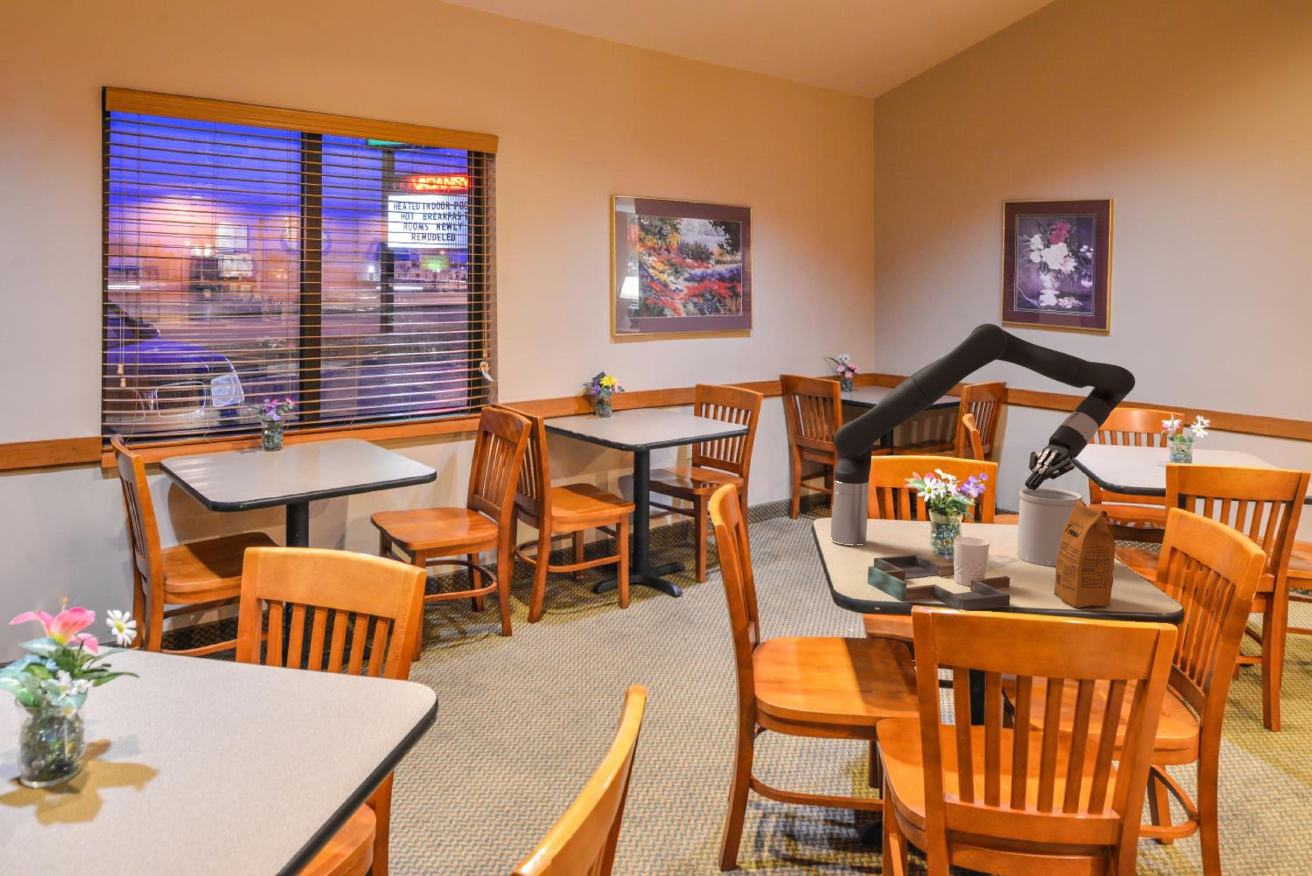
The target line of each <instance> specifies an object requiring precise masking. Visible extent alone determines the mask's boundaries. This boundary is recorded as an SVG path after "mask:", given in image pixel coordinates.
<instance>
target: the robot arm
mask: <svg viewBox="0 0 1312 876" xmlns="http://www.w3.org/2000/svg"><path fill="white" fill-rule="evenodd" d="M994 361H1002V362H1005V363H1010V364H1014V365H1018V366H1021V367H1022V368H1025V369H1028V370H1030V371H1033V372H1035V373H1037V374H1039V375H1041V376H1044V377H1046V378H1048V379H1051V380H1054V381H1056V382H1059V383H1062V384H1065V385H1068V386H1071V387H1074V388H1078V389H1083V388H1086V387H1092V389H1091V391H1090V392H1089V393H1088V395H1086V396H1087V397H1085V398H1084V399H1083V400H1081V402H1080V403H1079V404H1078V405H1077V407H1075V409H1074V410H1073V412H1071V413H1070V414H1069V415H1068V416H1067V417H1066V418H1065V419H1064V420H1063V422H1062V423H1061V424H1060V425H1059V426H1058V428H1056V430H1054V432H1053V433H1052V434H1051V435H1050V437H1049V439H1048V445H1046V446H1045V447H1044V448H1043V449H1042V450H1041V451H1040V452H1036V451H1032V452H1030V454H1029V455H1030V456H1029V465H1028V469H1029V470H1030V471H1031V472H1032V473H1031V474H1030V475H1029V476H1028V478H1027V479H1026V480H1025V482H1024V485H1025V488H1028V489H1031V490H1036V489H1037V488H1038V487H1041V485H1042V484H1043V483H1044V481H1047V480H1048V479H1050V480H1055V479H1057V478H1058V477H1061V476H1063V475H1065V474H1067V473H1068V472H1071V471H1072V470H1075V469H1076V466H1075V465H1074V463H1073V462H1072V460H1073V459H1076V458H1077V457H1078V456H1079V455H1080V454H1081V453H1082V452H1083V450H1084V449H1085V448H1086V447H1087V445H1088V444H1089V443H1090V442H1091V441H1092V440H1093V438H1094V436H1095V435H1096V433H1097V432H1098V431H1099V430H1100V428H1101V427H1102V426H1103V424H1105V422H1106V421H1107V420H1108V418H1109V417H1110V415H1111V413H1112V412H1113V411H1114V410H1115V408H1116V407H1118V405H1119V404H1120V403H1121V402H1122V401H1123V400H1124V399H1125V398H1126V396H1128V395H1129V394H1130V392H1132V390H1133V389H1134V388H1135V385H1136V379H1135V376H1134V374H1133V373H1132V372H1131V371H1129V370H1128V369H1126V368H1125V367H1122V366H1121V365H1117V364H1111V363H1105V362H1098V361H1097V362H1096V361H1090V360H1086V359H1082V358H1080V357H1078V356H1074V355H1072V354H1068V353H1065V352H1062V351H1059V350H1055V349H1052V348H1048V347H1046V346H1042V345H1038V344H1036V343H1032V342H1030V341H1027V340H1024V339H1022V338H1020V337H1017V336H1015V335H1014V334H1011V333H1010V332H1008V331H1006V330H1005V329H1003V328H1002V327H1000V326H999V325H996V324H993V323H982V324H980V325H978V326H977V327H975V328H974V329H973V330H972V331H971V332H970V333H969V335H968V336H967V337H966V338H965V339H964V340H963V341H961V343H959V344H958V345H957V346H956V347H955V348H953V350H952V351H950V352H949V353H947V354H946V355H944V356H943V357H941V358H939V359H937V360H935V361H933V362H931V363H930V364H929V363H928V365H925V366H923V367H922V368H920V369H919V370H918V371H916V372H914V373H913V374H911V375H909V376H908V377H907V378H906V379H904V380H903V381H901V382H900V383H899V384H897V386H895V387H894V388H893V389H892V390H891V391H890V392H888V394H886V395H885V396H884V397H883V398H881V400H879V402H878V403H877V404H876V405H875V406H874V407H872V408H871V409H869V410H868V411H867V412H865V413H864V414H861V415H860V416H858V417H857V418H855V419H854V420H850V421H848V422H845V423H844V424H843V425H841V426H840V427H839V428H838V429H837V430H836V433H835V435H834V438H833V446H834V448H835V451H836V452H837V454H836V455H837V457H836V464H835V468H834V469H835V470H834V482H833V483H834V485H833V486H834V487H833V504H832V506H831V526H830V529H831V530H830V538H831V537H832V539H831V541H832V540H833V541H836V542H839V543H843V544H853V545H857V544H864V543H865V542H866V543H867V534H868V533H867V530H868V512H869V511H868V510H869V493H870V492H869V491H870V490H869V489H870V488H869V487H870V475H871V467H872V453H873V444H875V443H876V442H877V441H878V440H879V439H881V438H882V437H883V436H884V435H886V434H887V433H888V432H890V431H892V430H894V429H895V428H897V427H898V426H900V425H902V424H903V423H904V424H905V423H906V422H907V421H909V420H911V419H913V418H914V417H916V416H918V415H919V414H921V413H922V412H924V411H925V410H926V409H928V408H929V407H930V406H932V405H934V403H936V402H938V401H939V400H940V399H942V398H943V397H944V396H945V395H946V394H948V393H949V392H950V391H951V390H952V389H953V388H954V387H956V386H957V385H958V384H959V383H960V382H961V381H963V380H964V379H965V378H966V377H968V376H970V375H971V374H973V373H974V372H976V371H978V370H979V369H981V368H983V367H985V366H986V365H988V364H990V363H992V362H994ZM864 545H865V544H864Z"/></svg>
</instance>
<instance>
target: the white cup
mask: <svg viewBox="0 0 1312 876" xmlns="http://www.w3.org/2000/svg"><path fill="white" fill-rule="evenodd" d="M989 549H990V541H988V540H986V539H983V538H979V537H972V536H959V537H955V538H954V539H953V564H954V577H953V581H954V582H955V583H956V584H958V583H959V584H958V585H962V586H966V587H971V580H978V579H986V578H985V577H986V573H987V565H988V558H989Z"/></svg>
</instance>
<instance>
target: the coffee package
mask: <svg viewBox="0 0 1312 876" xmlns="http://www.w3.org/2000/svg"><path fill="white" fill-rule="evenodd" d="M1108 516H1109V514H1108V512H1107V511H1105V509H1101V508H1093V507H1087V504H1086V503H1085V502H1084V501H1083V499H1082V500H1078V502H1077V503H1076V506H1075V508H1074V509H1073V511H1072V513H1071V516H1070V518H1069V520H1068V521H1067V523H1066V525H1065V528H1064V531H1063V533H1062V537H1061V540H1060V545H1059V550H1058V555H1057V559H1056V566H1055V580H1054V592H1053V594H1054V595H1055V596H1058V597H1059V599H1060V600H1061V602H1063V603H1065V604H1066V605H1069V606H1072V607H1074V608H1077V609H1078V608H1079V609H1080V608H1085V607H1105V606H1110V605H1111V597H1112V590H1113V585H1114V584H1113V583H1114V580H1115V579H1114V569H1115V556H1116V555H1115V554H1116V542H1115V541H1116V540H1115V538H1114V537H1113V535H1112V533H1111V530H1110V529H1109V527H1108V526H1107V524H1106V521H1105V518H1107V517H1108Z"/></svg>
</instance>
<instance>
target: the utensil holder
mask: <svg viewBox="0 0 1312 876" xmlns="http://www.w3.org/2000/svg"><path fill="white" fill-rule="evenodd" d="M1078 500H1082V501H1083V495H1082V494H1080V493H1079V492H1076V491H1072V490H1068V489H1064V488H1063V489H1062V488H1056V487H1047V486H1044V487H1043V486H1039V487H1038V488H1037V489H1036V490H1031V489H1028V488H1027V487H1024V488H1020V489H1019V507H1018V508H1019V509H1018V510H1019V511H1018V528H1017V541H1016V542H1017V546H1016V548H1017V549H1016V555H1017V558H1018V559H1020V560H1021V561H1024V562H1027V563H1031V564H1034V565H1039V566H1045V567H1056V559H1057V555H1058V550H1059V545H1060V540H1061V537H1062V533H1063V531H1064V528H1065V525H1066V523H1067V521H1068V520H1069V518H1070V516H1071V513H1072V511H1073V509H1074V508H1075V506H1076V503H1077V502H1078Z"/></svg>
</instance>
